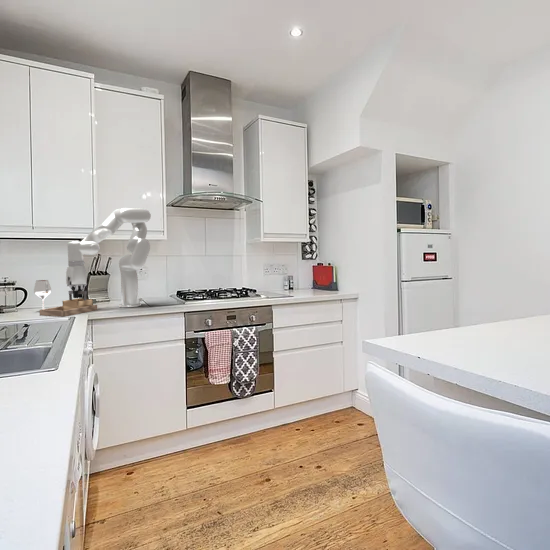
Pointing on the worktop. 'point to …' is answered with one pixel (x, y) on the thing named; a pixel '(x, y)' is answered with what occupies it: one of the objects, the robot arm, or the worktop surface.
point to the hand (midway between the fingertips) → (77, 297)
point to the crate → (77, 301)
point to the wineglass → (42, 289)
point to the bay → (66, 311)
